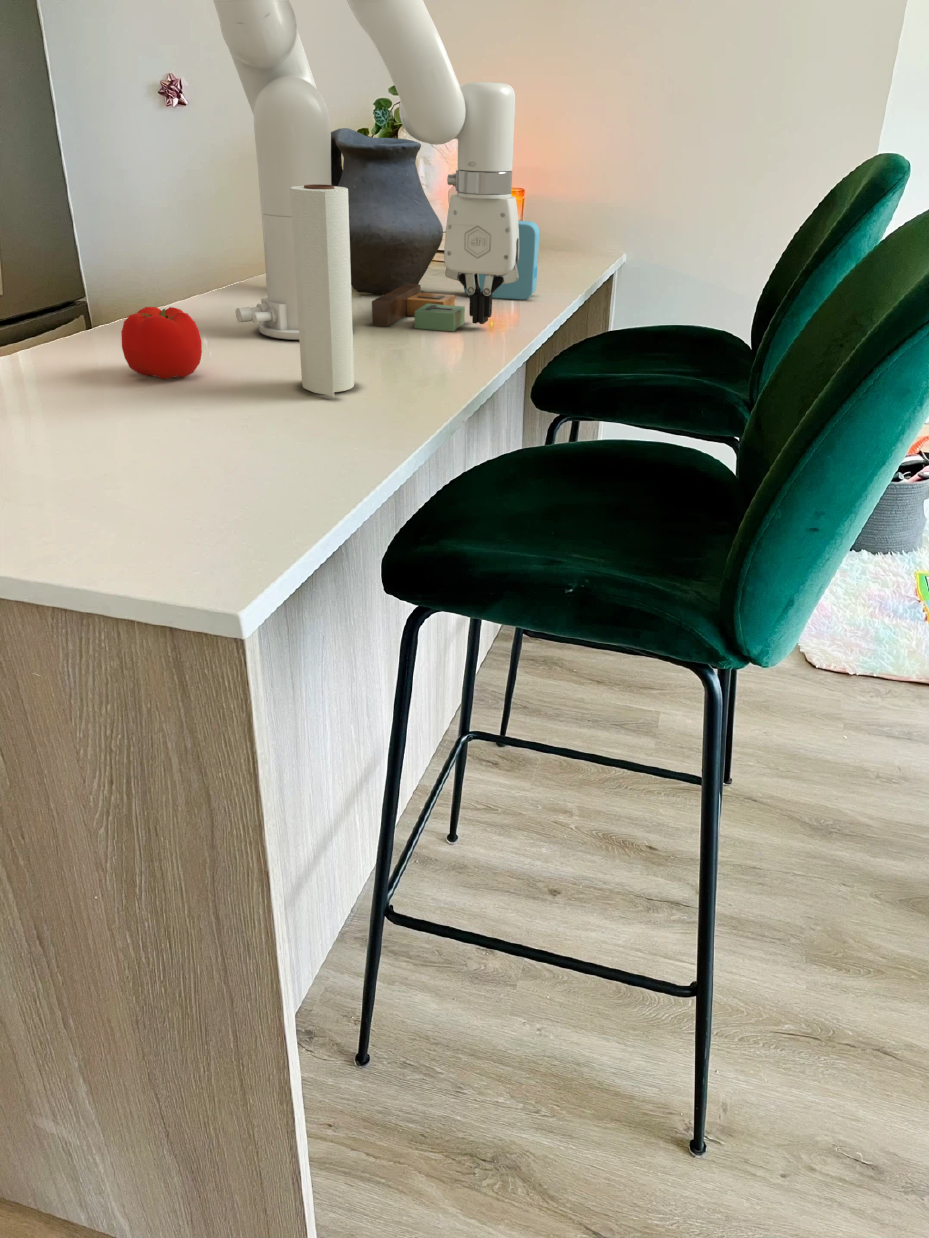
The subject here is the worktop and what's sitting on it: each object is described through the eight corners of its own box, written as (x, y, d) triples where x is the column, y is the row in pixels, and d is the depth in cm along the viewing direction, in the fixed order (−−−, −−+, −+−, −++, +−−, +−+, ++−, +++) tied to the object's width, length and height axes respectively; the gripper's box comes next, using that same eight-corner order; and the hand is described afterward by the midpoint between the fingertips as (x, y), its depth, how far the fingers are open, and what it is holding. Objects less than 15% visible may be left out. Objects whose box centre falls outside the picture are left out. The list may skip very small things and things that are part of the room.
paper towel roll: (318, 378, 113) (308, 182, 103) (363, 384, 111) (357, 185, 101) (286, 393, 107) (273, 186, 97) (334, 399, 105) (325, 190, 95)
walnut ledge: (387, 326, 139) (387, 302, 138) (372, 325, 140) (371, 301, 138) (420, 307, 153) (420, 284, 151) (406, 306, 153) (406, 283, 152)
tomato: (167, 389, 107) (159, 321, 104) (111, 377, 111) (101, 312, 108) (223, 372, 115) (217, 308, 111) (169, 361, 118) (161, 299, 115)
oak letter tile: (443, 318, 145) (443, 301, 144) (406, 315, 147) (406, 298, 146) (454, 311, 150) (455, 294, 149) (419, 308, 152) (419, 291, 151)
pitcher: (396, 306, 153) (394, 133, 141) (293, 291, 163) (283, 128, 151) (463, 288, 168) (466, 131, 156) (365, 275, 178) (361, 127, 166)
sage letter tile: (453, 331, 138) (453, 313, 136) (414, 328, 139) (414, 310, 138) (464, 323, 143) (465, 305, 141) (426, 320, 144) (426, 302, 143)
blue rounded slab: (536, 296, 164) (540, 221, 158) (532, 300, 160) (536, 224, 154) (468, 292, 166) (470, 218, 160) (462, 296, 162) (464, 221, 156)
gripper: (424, 184, 129) (423, 323, 137) (531, 190, 125) (524, 331, 134) (440, 181, 135) (439, 313, 144) (543, 186, 131) (535, 321, 140)
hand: (480, 321), depth 139 cm, fingers closed
